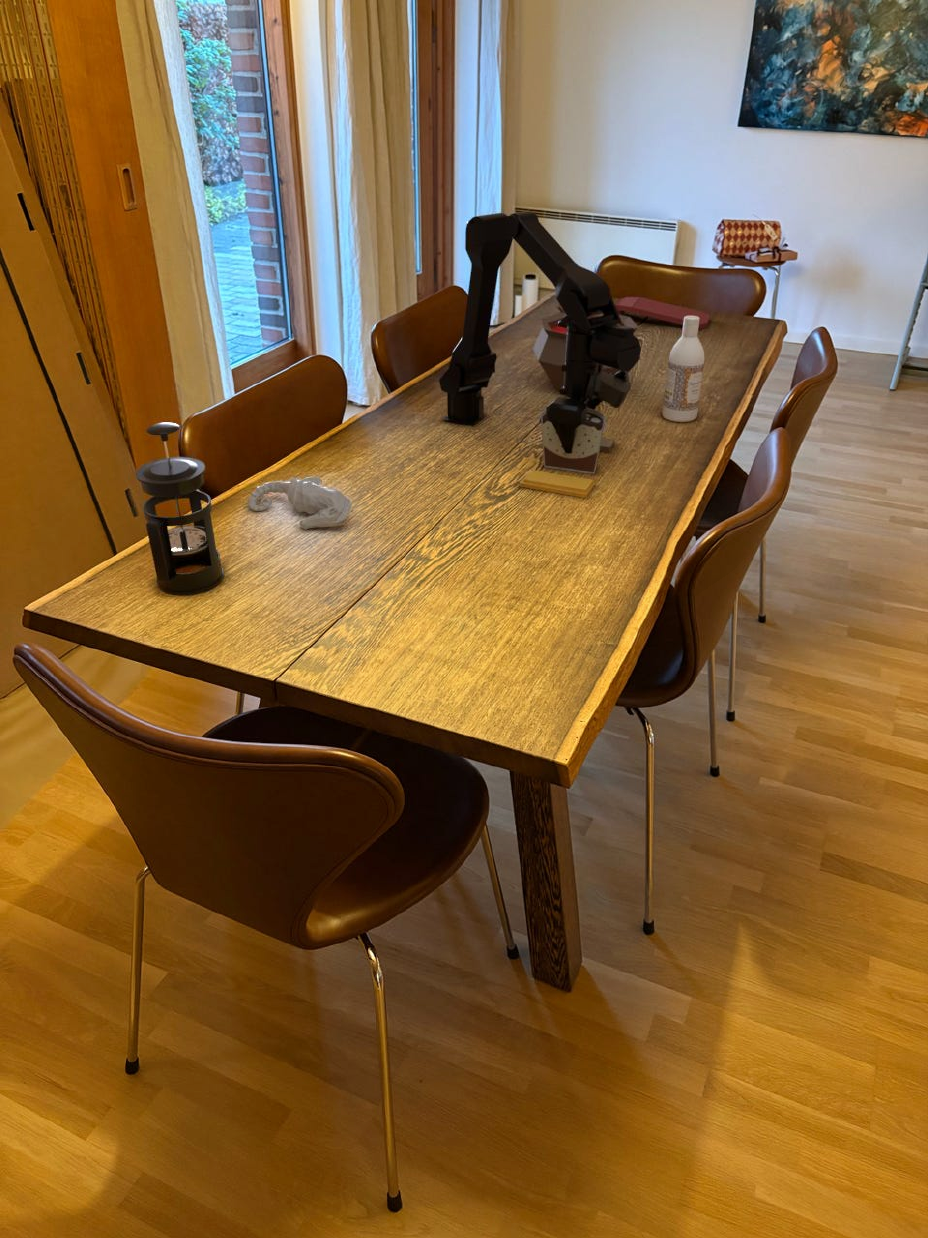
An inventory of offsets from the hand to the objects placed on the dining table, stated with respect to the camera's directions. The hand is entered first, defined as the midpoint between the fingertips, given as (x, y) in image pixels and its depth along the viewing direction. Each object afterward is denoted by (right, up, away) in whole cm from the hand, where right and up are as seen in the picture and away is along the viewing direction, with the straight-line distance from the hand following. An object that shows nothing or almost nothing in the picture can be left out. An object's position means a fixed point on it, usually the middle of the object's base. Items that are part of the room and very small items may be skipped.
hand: (576, 444), depth 164 cm
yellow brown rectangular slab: (-4, -9, -6) cm, 11 cm away
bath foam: (+24, +10, +23) cm, 34 cm away
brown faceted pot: (+7, +21, +40) cm, 46 cm away
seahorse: (-47, -14, -15) cm, 51 cm away
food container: (0, -3, +3) cm, 4 cm away
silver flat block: (+4, +2, +10) cm, 11 cm away
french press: (-60, -26, -33) cm, 73 cm away
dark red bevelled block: (+34, +50, +86) cm, 105 cm away
